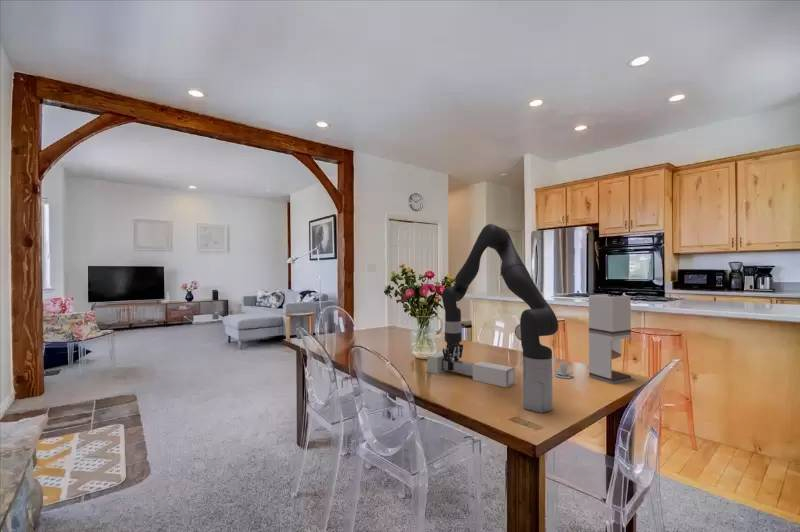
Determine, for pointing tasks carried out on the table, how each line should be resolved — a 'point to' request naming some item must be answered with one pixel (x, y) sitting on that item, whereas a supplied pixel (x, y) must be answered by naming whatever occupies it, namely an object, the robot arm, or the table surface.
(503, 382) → the grey sleeve
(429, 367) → the socket block
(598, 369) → the grey notched tower
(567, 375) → the pacifier
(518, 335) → the magnifying glass
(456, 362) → the steel tube
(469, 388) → the table surface
